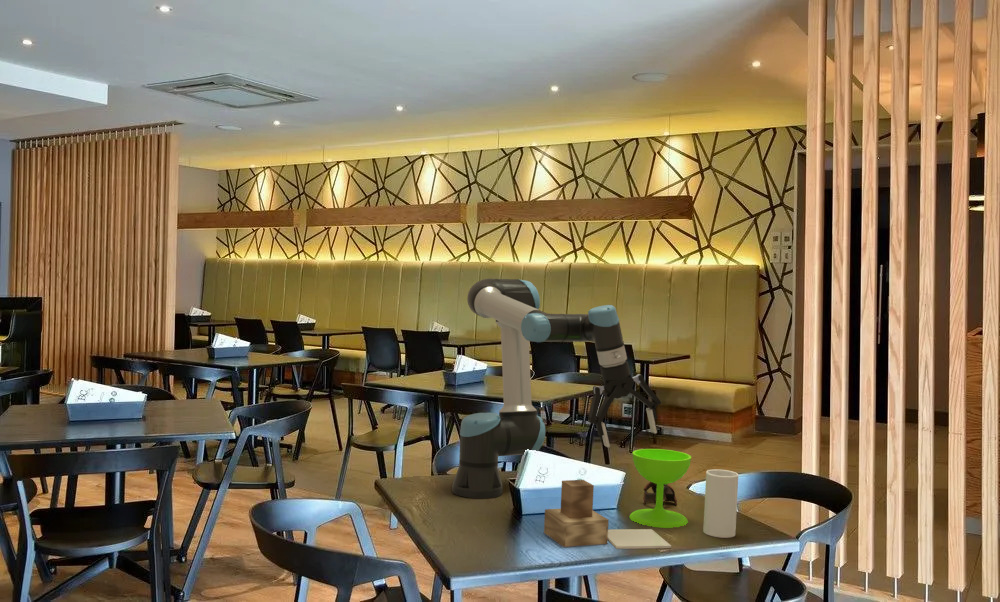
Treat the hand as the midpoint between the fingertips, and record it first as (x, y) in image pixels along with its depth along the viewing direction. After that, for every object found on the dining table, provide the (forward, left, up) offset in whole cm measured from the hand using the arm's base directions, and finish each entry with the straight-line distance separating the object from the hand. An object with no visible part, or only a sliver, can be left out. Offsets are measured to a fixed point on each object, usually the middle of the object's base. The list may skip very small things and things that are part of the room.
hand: (630, 439), depth 237 cm
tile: (-3, -14, -23) cm, 27 cm away
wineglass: (+10, +4, -23) cm, 26 cm away
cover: (-18, -12, -23) cm, 31 cm away
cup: (+22, -9, -23) cm, 33 cm away
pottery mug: (+17, +20, -23) cm, 35 cm away
